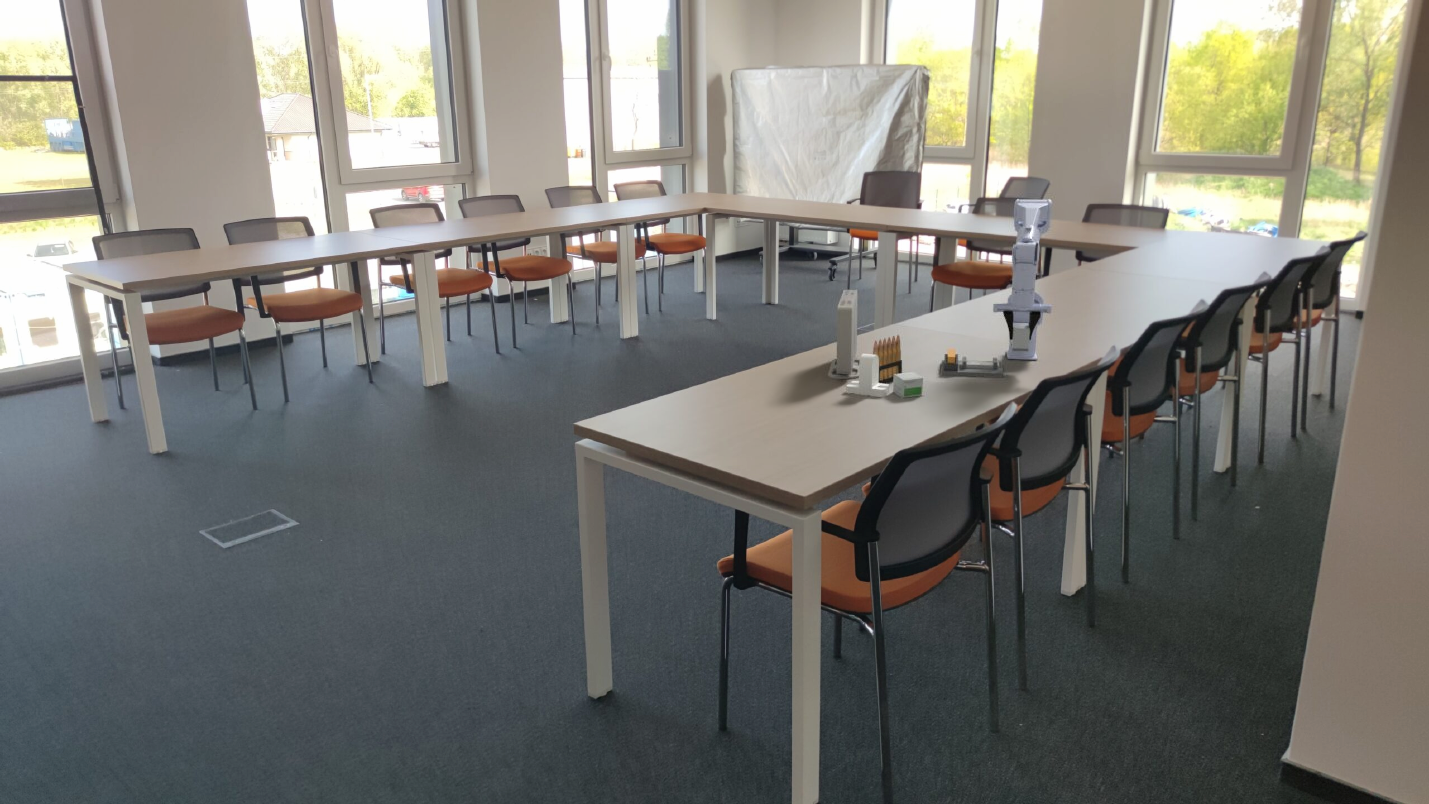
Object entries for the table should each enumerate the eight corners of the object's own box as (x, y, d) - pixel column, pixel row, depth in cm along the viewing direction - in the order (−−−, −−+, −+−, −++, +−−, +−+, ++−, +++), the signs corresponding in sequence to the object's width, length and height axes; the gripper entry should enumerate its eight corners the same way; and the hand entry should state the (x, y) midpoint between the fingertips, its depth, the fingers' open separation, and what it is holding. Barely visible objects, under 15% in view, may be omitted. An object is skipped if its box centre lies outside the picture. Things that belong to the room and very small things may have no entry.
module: (1010, 344, 259) (1012, 322, 257) (1026, 345, 258) (1027, 323, 256) (1012, 351, 252) (1013, 329, 251) (1028, 351, 252) (1029, 329, 250)
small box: (902, 398, 238) (903, 379, 237) (892, 392, 244) (892, 373, 242) (923, 396, 240) (924, 377, 238) (912, 389, 245) (913, 371, 244)
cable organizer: (883, 397, 239) (884, 358, 236) (845, 393, 244) (846, 355, 241) (889, 391, 244) (890, 353, 241) (852, 387, 248) (853, 350, 245)
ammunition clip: (875, 386, 248) (876, 341, 245) (869, 385, 250) (870, 340, 246) (902, 378, 255) (903, 334, 251) (896, 377, 256) (897, 333, 253)
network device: (859, 382, 252) (860, 308, 246) (826, 381, 254) (826, 307, 248) (864, 357, 276) (865, 289, 270) (834, 356, 278) (834, 288, 272)
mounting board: (941, 363, 268) (941, 359, 267) (1001, 365, 264) (1001, 361, 264) (941, 375, 256) (941, 371, 256) (1003, 377, 253) (1003, 373, 252)
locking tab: (947, 356, 265) (947, 349, 264) (954, 356, 264) (955, 349, 264) (947, 364, 257) (947, 356, 256) (955, 364, 257) (955, 357, 256)
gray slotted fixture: (944, 360, 266) (944, 353, 266) (997, 362, 263) (998, 355, 262) (943, 370, 257) (944, 363, 256) (999, 372, 254) (999, 365, 253)
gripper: (995, 291, 249) (992, 341, 253) (1054, 291, 245) (1050, 343, 249) (994, 285, 255) (991, 335, 259) (1051, 286, 252) (1047, 336, 256)
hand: (1019, 339), depth 255 cm, fingers closed on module, 4 cm apart
